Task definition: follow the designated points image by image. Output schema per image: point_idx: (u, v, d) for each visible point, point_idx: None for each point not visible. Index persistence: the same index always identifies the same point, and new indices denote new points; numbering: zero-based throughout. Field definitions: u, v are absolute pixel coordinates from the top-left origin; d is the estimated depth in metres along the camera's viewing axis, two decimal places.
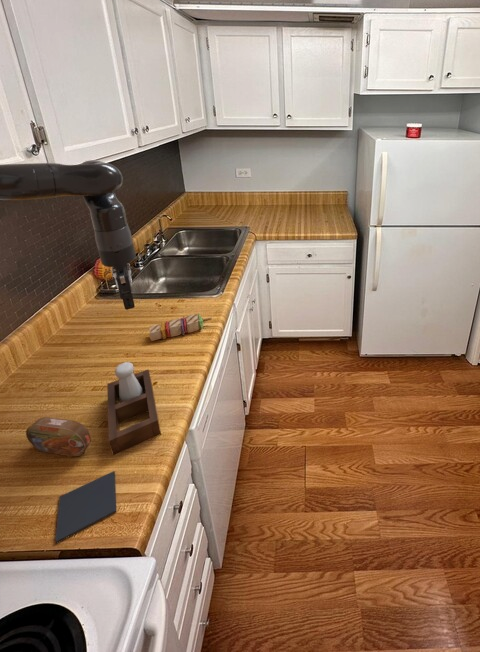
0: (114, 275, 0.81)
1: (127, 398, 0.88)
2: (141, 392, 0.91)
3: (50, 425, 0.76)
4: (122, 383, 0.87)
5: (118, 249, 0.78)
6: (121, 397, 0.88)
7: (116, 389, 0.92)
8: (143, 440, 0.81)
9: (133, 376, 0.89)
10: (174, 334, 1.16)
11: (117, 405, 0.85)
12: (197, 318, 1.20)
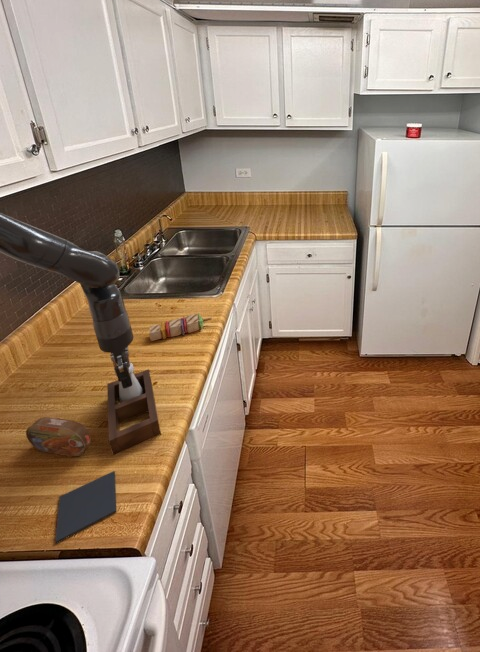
0: (112, 359, 0.83)
1: (127, 398, 0.88)
2: (141, 392, 0.91)
3: (50, 425, 0.76)
4: None
5: (116, 336, 0.80)
6: (121, 397, 0.88)
7: (116, 389, 0.92)
8: (143, 440, 0.81)
9: (133, 376, 0.89)
10: (174, 334, 1.16)
11: (117, 405, 0.85)
12: (197, 318, 1.20)
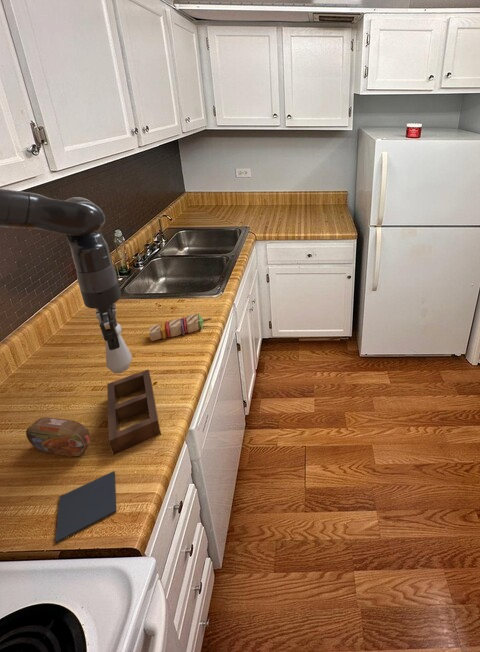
0: (98, 317, 0.77)
1: (114, 361, 0.82)
2: (129, 356, 0.85)
3: (50, 425, 0.76)
4: None
5: (101, 290, 0.74)
6: (108, 360, 0.82)
7: (116, 389, 0.92)
8: (143, 440, 0.81)
9: (121, 338, 0.83)
10: (174, 334, 1.16)
11: (117, 405, 0.85)
12: (197, 318, 1.20)
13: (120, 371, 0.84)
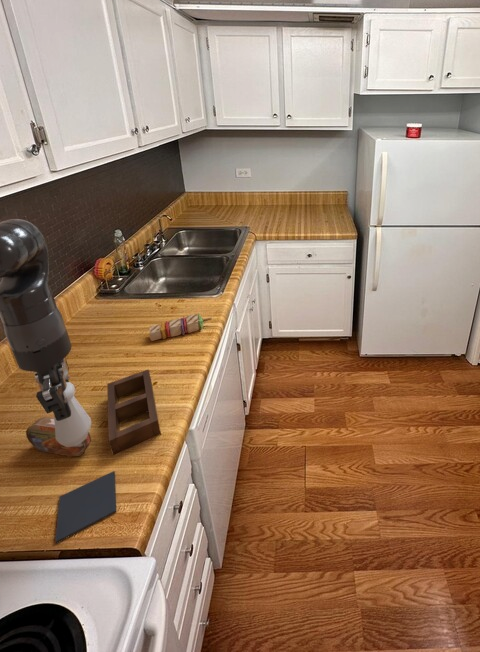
0: (38, 380, 0.57)
1: (65, 433, 0.62)
2: (87, 423, 0.65)
3: (50, 425, 0.76)
4: None
5: (39, 347, 0.54)
6: (56, 432, 0.62)
7: (116, 389, 0.92)
8: (143, 440, 0.81)
9: (74, 402, 0.63)
10: (174, 334, 1.16)
11: (117, 405, 0.85)
12: (197, 318, 1.20)
13: (74, 444, 0.64)
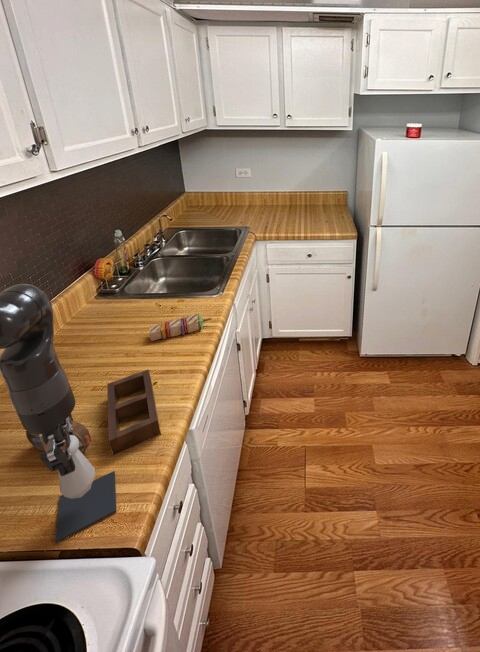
0: (42, 439, 0.58)
1: (69, 487, 0.63)
2: (91, 474, 0.66)
3: None
4: None
5: (43, 410, 0.55)
6: (61, 485, 0.63)
7: (116, 389, 0.92)
8: (143, 440, 0.81)
9: (78, 454, 0.64)
10: (174, 334, 1.16)
11: (117, 405, 0.85)
12: (197, 318, 1.20)
13: (78, 496, 0.64)
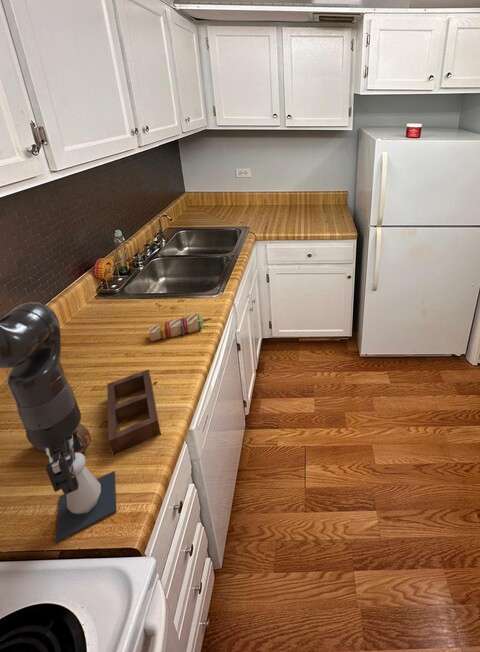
0: (48, 452, 0.59)
1: (76, 503, 0.65)
2: (97, 490, 0.68)
3: None
4: None
5: (50, 425, 0.56)
6: (68, 501, 0.65)
7: (116, 389, 0.92)
8: (143, 440, 0.81)
9: (85, 472, 0.66)
10: (174, 334, 1.16)
11: (117, 405, 0.85)
12: (197, 318, 1.20)
13: (85, 512, 0.66)
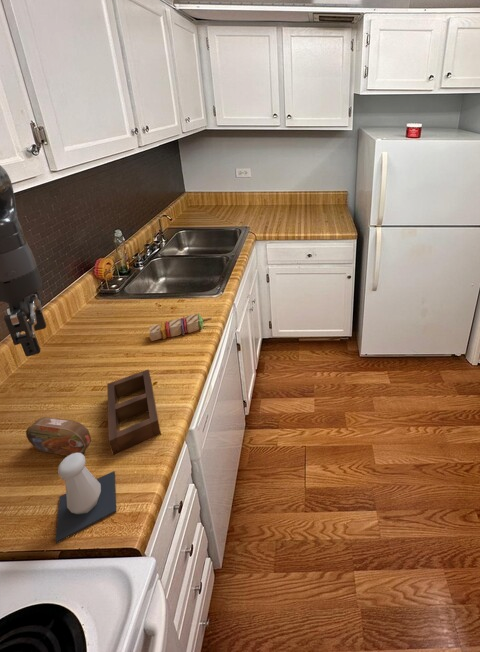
0: (9, 312, 0.61)
1: (76, 503, 0.65)
2: (97, 490, 0.68)
3: (50, 425, 0.76)
4: (68, 484, 0.64)
5: (9, 278, 0.58)
6: (68, 501, 0.65)
7: (116, 389, 0.92)
8: (143, 440, 0.81)
9: (85, 472, 0.66)
10: (174, 334, 1.16)
11: (117, 405, 0.85)
12: (197, 318, 1.20)
13: (85, 512, 0.66)
